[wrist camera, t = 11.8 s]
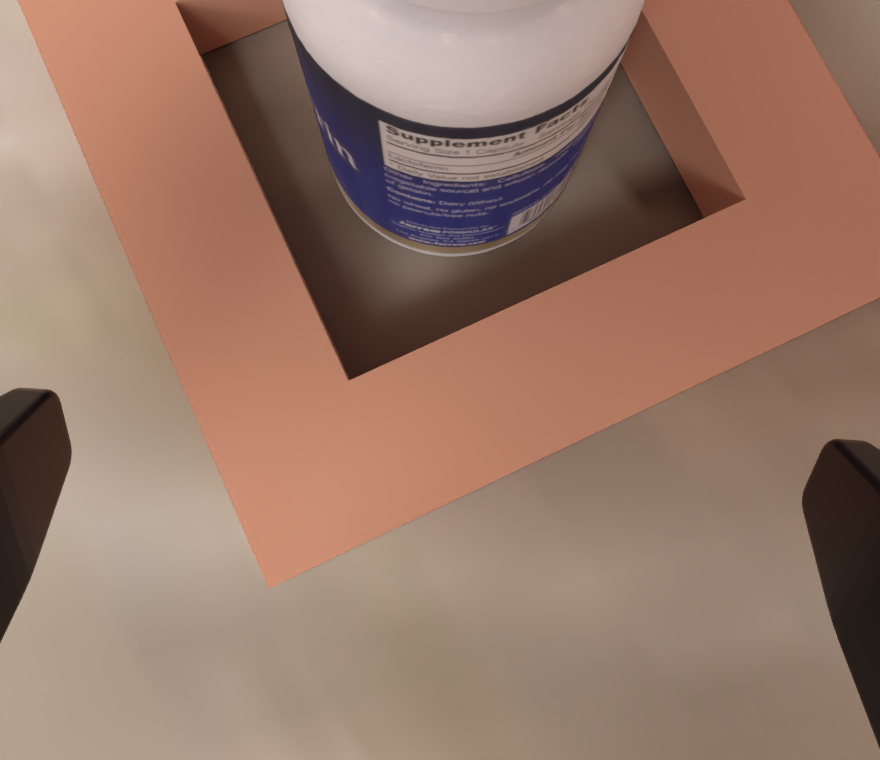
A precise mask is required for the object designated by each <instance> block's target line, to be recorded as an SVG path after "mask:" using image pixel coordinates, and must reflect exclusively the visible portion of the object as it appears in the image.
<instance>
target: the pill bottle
mask: <svg viewBox="0 0 880 760" xmlns="http://www.w3.org/2000/svg"><path fill="white" fill-rule="evenodd" d="M644 1H645V0H282V3H283V7H284V10H285V14H286V17H287V20H288V24H289V27H290V30H291V33H292V36H293V40H294V43H295V46H296V49H297V53H298V56H299V60H300V63H301V67H302V70H303V73H304V77H305V80H306V84H307V87H308V90H309V94H310V97H311V100H312V104H313V107H314V111H315V114H316V118H317V121H318V124H319V128H320V131H321V135H322V138H323V142H324V145H325V149H326V153H327V156H328V159H329V162H330V166H331V168H332V171H333V174H334V177H335V179H336V182H337V184H338V186H339V188H340V190H341V192H342V194H343V196H344V197H345V199H346V201H347V202H348V204H349V205H350V206H351V208H352V209H353V210H354V212H355V213H356V214H357V215H358V216H359V217H360V218H361V219H362V220H363V221H364V222H365V223H366V224H367V225H368V226H369V227H370V228H372V229H373V230H374V231H376V232H377V233H379V234H380V235H382V236H383V237H385V238H386V239H388V240H390V241H392V242H394V243H396V244H398V245H400V246H403V247H405V248H408V249H411V250H413V251H417V252H421V253H425V254H430V255H436V256H448V257H456V256H469V255H475V254H480V253H484V252H488V251H491V250H494V249H496V248H499V247H502V246H504V245H506V244H508V243H510V242H512V241H514V240H516V239H518V238H519V237H521V236H523V235H524V234H526V233H527V232H528V231H530V230H531V229H532V228H533V227H535V226H536V225H537V224H538V223H539V222H540V221H541V220H542V219H543V218H544V217H545V216H546V215H547V214H548V213H549V211H550V210H551V209H552V207H553V206H554V205H555V203H556V201H557V200H558V198H559V197H560V195H561V193H562V192H563V190H564V188H565V187H566V185H567V183H568V181H569V179H570V177H571V174H572V172H573V169H574V167H575V165H576V163H577V161H578V159H579V157H580V154H581V151H582V149H583V146H584V144H585V142H586V139H587V137H588V135H589V132H590V130H591V128H592V125H593V123H594V120H595V118H596V116H597V113H598V111H599V109H600V107H601V105H602V102H603V100H604V97H605V95H606V93H607V90H608V88H609V86H610V84H611V81H612V79H613V77H614V74H615V72H616V70H617V68H618V65H619V63H620V61H621V59H622V56H623V54H624V52H625V50H626V47H627V45H628V43H629V41H630V38H631V36H632V34H633V32H634V30H635V27H636V24H637V21H638V18H639V15H640V13H641V10H642V7H643V4H644Z"/></svg>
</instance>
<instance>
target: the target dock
mask: <svg viewBox="0 0 880 760" xmlns="http://www.w3.org/2000/svg"><path fill="white" fill-rule="evenodd" d="M18 2H19V4H20V7H21V9H22V11H23V14H24V16H25V18H26V21H27V23H28V25H29V28H30V30H31V32H32V35H33V37H34V40H35V42H36V44H37V47H38V49H39V51H40V54H41V56H42V58H43V61H44V63H45V65H46V68H47V70H48V72H49V75H50V77H51V79H52V82H53V84H54V86H55V89H56V91H57V93H58V96H59V98H60V100H61V103H62V105H63V108H64V110H65V112H66V115H67V117H68V119H69V122H70V124H71V126H72V129H73V131H74V133H75V136H76V138H77V140H78V143H79V145H80V147H81V150H82V152H83V154H84V157H85V159H86V161H87V164H88V166H89V169H90V171H91V173H92V176H93V178H94V180H95V183H96V185H97V187H98V190H99V192H100V194H101V197H102V199H103V201H104V204H105V206H106V208H107V211H108V213H109V215H110V218H111V220H112V222H113V225H114V227H115V229H116V232H117V234H118V237H119V239H120V241H121V244H122V246H123V248H124V251H125V253H126V255H127V258H128V260H129V262H130V265H131V267H132V269H133V272H134V274H135V276H136V279H137V281H138V283H139V286H140V288H141V290H142V293H143V295H144V297H145V300H146V302H147V305H148V307H149V309H150V312H151V314H152V316H153V319H154V321H155V323H156V326H157V328H158V330H159V333H160V335H161V337H162V340H163V342H164V344H165V347H166V349H167V351H168V354H169V356H170V358H171V361H172V363H173V366H174V368H175V370H176V373H177V375H178V377H179V380H180V382H181V384H182V387H183V389H184V391H185V394H186V396H187V398H188V401H189V403H190V405H191V408H192V410H193V412H194V415H195V417H196V419H197V422H198V424H199V426H200V429H201V431H202V434H203V436H204V438H205V441H206V443H207V445H208V448H209V450H210V452H211V455H212V457H213V459H214V462H215V464H216V466H217V469H218V471H219V473H220V476H221V478H222V480H223V483H224V485H225V487H226V490H227V492H228V494H229V497H230V499H231V502H232V504H233V506H234V509H235V511H236V513H237V516H238V518H239V520H240V523H241V525H242V527H243V530H244V532H245V534H246V537H247V539H248V541H249V544H250V546H251V548H252V551H253V553H254V555H255V558H256V560H257V563H258V565H259V567H260V570H261V572H262V574H263V577H264V579H265V581H266V584H267V586H268V588H271V587H273V586H275V585H277V584H279V583H281V582H283V581H286V580H288V579H290V578H292V577H294V576H296V575H298V574H300V573H302V572H304V571H307V570H309V569H311V568H313V567H315V566H317V565H319V564H321V563H323V562H325V561H328V560H330V559H332V558H334V557H336V556H338V555H340V554H342V553H344V552H346V551H349V550H351V549H353V548H355V547H357V546H359V545H361V544H363V543H365V542H367V541H370V540H372V539H374V538H376V537H378V536H380V535H382V534H384V533H386V532H388V531H391V530H393V529H395V528H397V527H399V526H401V525H403V524H405V523H407V522H409V521H412V520H414V519H416V518H418V517H420V516H422V515H424V514H426V513H428V512H430V511H433V510H435V509H437V508H439V507H441V506H443V505H445V504H447V503H449V502H451V501H454V500H456V499H458V498H460V497H462V496H464V495H466V494H468V493H470V492H472V491H475V490H477V489H479V488H481V487H483V486H485V485H487V484H489V483H491V482H493V481H496V480H498V479H500V478H502V477H504V476H506V475H508V474H510V473H512V472H514V471H517V470H519V469H521V468H523V467H525V466H527V465H529V464H531V463H533V462H535V461H538V460H540V459H542V458H544V457H546V456H548V455H550V454H552V453H554V452H557V451H559V450H561V449H563V448H565V447H567V446H569V445H571V444H573V443H575V442H578V441H580V440H582V439H584V438H586V437H588V436H590V435H592V434H594V433H596V432H599V431H601V430H603V429H605V428H607V427H609V426H611V425H613V424H615V423H617V422H620V421H622V420H624V419H626V418H628V417H630V416H632V415H634V414H636V413H638V412H641V411H643V410H645V409H647V408H649V407H651V406H653V405H655V404H657V403H659V402H662V401H664V400H666V399H668V398H670V397H672V396H674V395H676V394H678V393H680V392H683V391H685V390H687V389H689V388H691V387H693V386H695V385H697V384H699V383H701V382H704V381H706V380H708V379H710V378H712V377H714V376H716V375H718V374H720V373H722V372H725V371H727V370H729V369H731V368H733V367H735V366H737V365H739V364H741V363H743V362H746V361H748V360H750V359H752V358H754V357H756V356H758V355H760V354H762V353H764V352H767V351H769V350H771V349H773V348H775V347H777V346H779V345H781V344H783V343H785V342H788V341H790V340H792V339H794V338H796V337H798V336H800V335H802V334H804V333H806V332H809V331H811V330H813V329H815V328H817V327H819V326H821V325H823V324H825V323H828V322H830V321H832V320H834V319H836V318H838V317H840V316H842V315H844V314H846V313H849V312H851V311H853V310H855V309H857V308H859V307H861V306H863V305H865V304H867V303H870V302H872V301H874V300H876V299H878V298H880V157H879V156H878V154H877V152H876V150H875V149H874V147H873V145H872V144H871V142H870V140H869V138H868V137H867V135H866V133H865V131H864V130H863V128H862V126H861V125H860V123H859V121H858V119H857V118H856V116H855V114H854V113H853V111H852V109H851V107H850V106H849V104H848V102H847V100H846V99H845V97H844V95H843V94H842V92H841V90H840V88H839V87H838V85H837V83H836V82H835V80H834V78H833V76H832V75H831V73H830V71H829V70H828V68H827V66H826V64H825V63H824V61H823V59H822V57H821V56H820V54H819V52H818V51H817V49H816V47H815V45H814V44H813V42H812V40H811V39H810V37H809V35H808V33H807V32H806V30H805V28H804V27H803V25H802V23H801V21H800V20H799V18H798V16H797V14H796V13H795V11H794V9H793V8H792V6H791V4H790V2H789V1H788V0H645V1H644V4H643V7H642V10H641V13H640V15H639V18H638V21H637V24H636V27H635V30H634V32H633V34H632V36H631V38H630V41H629V43H628V45H627V47H626V50H625V52H624V54H623V56H622V59H621V61H620V63H621V65H622V67H623V69H624V71H625V73H626V74H627V76H628V78H629V80H630V82H631V84H632V85H633V87H634V89H635V91H636V93H637V95H638V97H639V98H640V100H641V102H642V104H643V106H644V108H645V110H646V111H647V113H648V115H649V117H650V119H651V121H652V122H653V124H654V126H655V128H656V130H657V132H658V134H659V135H660V137H661V139H662V141H663V143H664V145H665V147H666V148H667V150H668V152H669V154H670V156H671V158H672V159H673V161H674V163H675V165H676V167H677V169H678V171H679V172H680V174H681V176H682V178H683V180H684V182H685V184H686V185H687V187H688V189H689V191H690V193H691V195H692V196H693V198H694V200H695V202H696V204H697V206H698V208H699V209H700V211H701V213H702V215H703V217H704V219H701V220H699V221H697V222H695V223H693V224H690V225H688V226H686V227H684V228H682V229H680V230H677V231H675V232H673V233H671V234H669V235H666V236H664V237H662V238H660V239H658V240H655V241H653V242H651V243H649V244H647V245H645V246H642V247H640V248H638V249H636V250H634V251H631V252H629V253H627V254H625V255H623V256H620V257H618V258H616V259H614V260H612V261H609V262H607V263H605V264H603V265H601V266H599V267H596V268H594V269H592V270H590V271H588V272H585V273H583V274H581V275H579V276H577V277H574V278H572V279H570V280H568V281H566V282H564V283H561V284H559V285H557V286H555V287H553V288H550V289H548V290H546V291H544V292H542V293H539V294H537V295H535V296H533V297H531V298H529V299H526V300H524V301H522V302H520V303H518V304H515V305H513V306H511V307H509V308H507V309H504V310H502V311H500V312H498V313H496V314H494V315H491V316H489V317H487V318H485V319H483V320H480V321H478V322H476V323H474V324H472V325H469V326H467V327H465V328H463V329H461V330H458V331H456V332H454V333H452V334H450V335H448V336H445V337H443V338H441V339H439V340H437V341H434V342H432V343H430V344H428V345H426V346H423V347H421V348H419V349H417V350H415V351H413V352H410V353H408V354H406V355H404V356H402V357H399V358H397V359H395V360H393V361H391V362H388V363H386V364H384V365H382V366H380V367H378V368H375V369H373V370H371V371H369V372H367V373H364V374H362V375H360V376H358V377H356V378H353V379H351V380H350V378H349V376H348V374H347V372H346V369H345V367H344V365H343V363H342V361H341V359H340V356H339V354H338V352H337V350H336V348H335V345H334V343H333V341H332V339H331V337H330V335H329V332H328V330H327V328H326V326H325V324H324V321H323V319H322V317H321V315H320V313H319V311H318V308H317V306H316V304H315V302H314V300H313V297H312V295H311V293H310V291H309V289H308V287H307V284H306V282H305V280H304V278H303V276H302V273H301V271H300V269H299V267H298V265H297V263H296V260H295V258H294V256H293V254H292V252H291V249H290V247H289V245H288V243H287V241H286V239H285V236H284V234H283V232H282V230H281V228H280V225H279V223H278V221H277V219H276V217H275V215H274V212H273V210H272V208H271V206H270V204H269V201H268V199H267V197H266V195H265V193H264V191H263V188H262V186H261V184H260V182H259V180H258V177H257V175H256V173H255V171H254V169H253V167H252V164H251V162H250V160H249V158H248V156H247V153H246V151H245V149H244V147H243V145H242V143H241V140H240V138H239V136H238V134H237V132H236V129H235V127H234V125H233V123H232V121H231V119H230V116H229V114H228V112H227V110H226V108H225V105H224V103H223V101H222V99H221V97H220V95H219V92H218V90H217V88H216V86H215V84H214V81H213V79H212V77H211V75H210V73H209V71H208V68H207V66H206V64H205V62H204V60H203V57H202V54H204V53H206V52H209V51H211V50H214V49H216V48H219V47H221V46H223V45H226V44H228V43H231V42H233V41H235V40H238V39H240V38H243V37H245V36H248V35H250V34H252V33H255V32H257V31H260V30H262V29H265V28H267V27H269V26H272V25H274V24H277V23H279V22H281V21H284V20H286V19H287V17H286V14H285V10H284V7H283V3H282V0H18Z"/></svg>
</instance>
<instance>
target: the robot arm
mask: <svg viewBox="0 0 880 760" xmlns="http://www.w3.org/2000/svg"><path fill="white" fill-rule="evenodd" d="M71 454H72V451H71V443H70V438H69V434H68V430H67V426H66V422H65V418H64V414H63V410H62V406H61V402H60V399H59V397H58V396H57V394H56V393H55V392H53V391H52V390H48V389H33V388H17V389H14V390H11V391H9V392H8V393H6V394H4V395H2V396H0V642H1V640H2V638H3V636H4V634H5V632H6V630H7V628H8V626H9V624H10V622H11V619H12V617H13V615H14V613H15V611H16V609H17V607H18V605H19V603H20V601H21V599H22V597H23V594H24V592H25V590H26V588H27V585H28V583H29V581H30V579H31V576H32V573H33V571H34V568H35V565H36V563H37V560H38V557H39V554H40V551H41V549H42V546H43V543H44V540H45V537H46V534H47V531H48V528H49V525H50V522H51V519H52V516H53V513H54V510H55V508H56V505H57V502H58V499H59V496H60V493H61V490H62V487H63V484H64V481H65V478H66V475H67V472H68V470H69V466H70V462H71ZM802 507H803V513H804V517H805V520H806V524H807V528H808V532H809V536H810V540H811V544H812V548H813V552H814V556H815V560H816V563H817V567H818V571H819V575H820V579H821V583H822V587H823V591H824V595H825V599H826V603H827V606H828V609H829V613H830V616H831V620H832V623H833V626H834V629H835V631H836V634H837V637H838V640H839V643H840V645H841V648H842V651H843V653H844V656H845V659H846V661H847V664H848V666H849V669H850V672H851V674H852V677H853V680H854V682H855V685H856V687H857V690H858V693H859V695H860V698H861V701H862V703H863V706H864V709H865V711H866V714H867V716H868V719H869V722H870V724H871V727H872V730H873V732H874V735H875V737H876V740H877V743H878V745H879V748H880V450H879V449H878V448H876V447H875V446H873V445H871V444H870V443H868V442H865V441H860V440H844V439H833V440H831V441H829V442H827V443H826V444H825V445H824V447H823V449H822V450H821V453H820V455H819V457H818V459H817V462H816V464H815V466H814V468H813V470H812V473H811V475H810V477H809V479H808V481H807V484H806V486H805V488H804V491H803V496H802Z"/></svg>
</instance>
